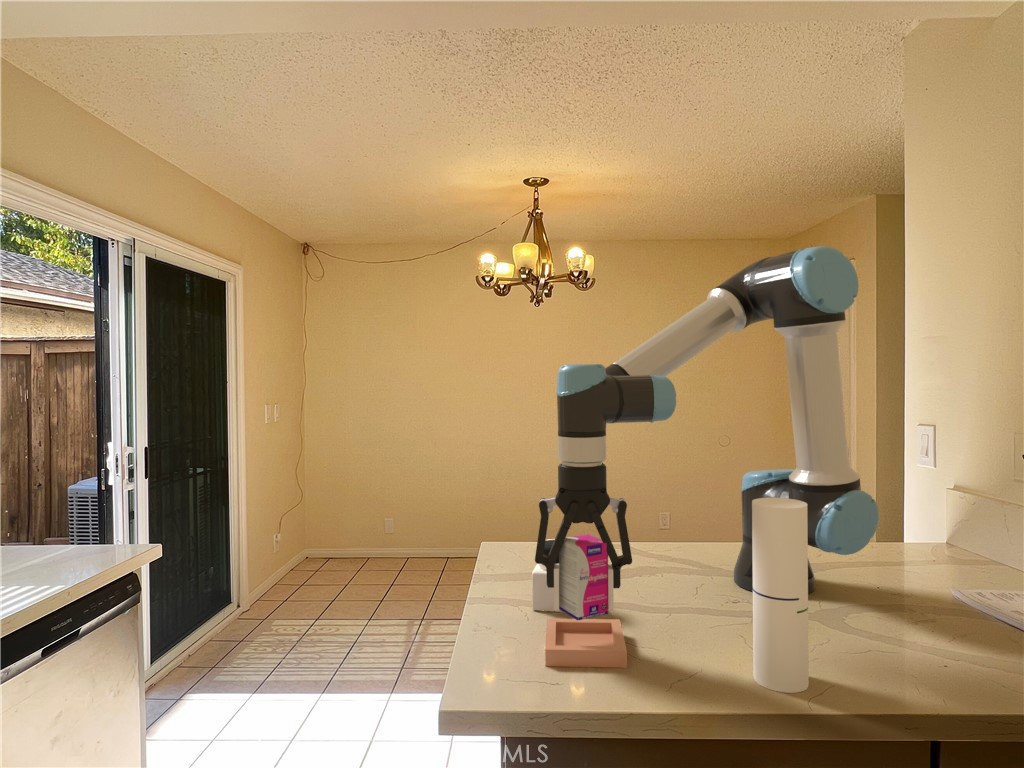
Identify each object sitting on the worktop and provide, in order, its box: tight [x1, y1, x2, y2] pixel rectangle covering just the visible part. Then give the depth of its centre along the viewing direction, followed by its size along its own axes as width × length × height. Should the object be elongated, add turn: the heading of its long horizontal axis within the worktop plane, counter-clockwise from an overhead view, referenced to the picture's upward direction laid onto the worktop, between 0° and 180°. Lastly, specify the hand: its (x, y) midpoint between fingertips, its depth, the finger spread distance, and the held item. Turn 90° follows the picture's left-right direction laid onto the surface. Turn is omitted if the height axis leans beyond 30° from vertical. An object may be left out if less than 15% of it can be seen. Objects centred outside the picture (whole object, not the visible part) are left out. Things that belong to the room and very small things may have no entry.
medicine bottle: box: [531, 538, 563, 613], centre depth 121 cm, size 7×7×12 cm
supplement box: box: [559, 533, 609, 620], centre depth 102 cm, size 6×6×12 cm
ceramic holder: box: [544, 618, 628, 669], centre depth 102 cm, size 12×12×2 cm
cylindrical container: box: [752, 498, 810, 694], centre depth 91 cm, size 7×7×25 cm
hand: (583, 607), depth 102 cm, fingers closed on supplement box, 8 cm apart
